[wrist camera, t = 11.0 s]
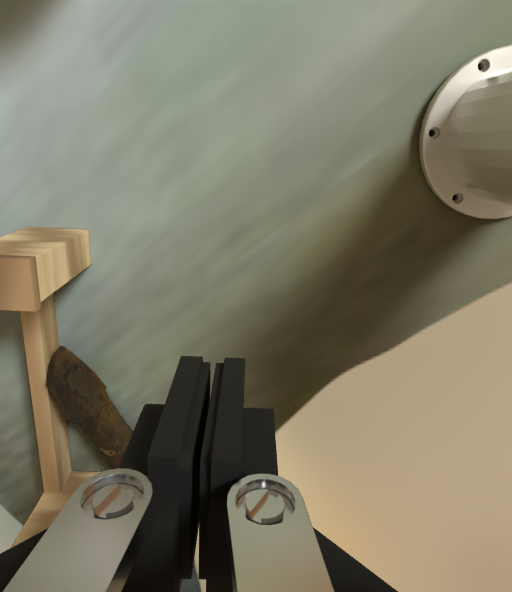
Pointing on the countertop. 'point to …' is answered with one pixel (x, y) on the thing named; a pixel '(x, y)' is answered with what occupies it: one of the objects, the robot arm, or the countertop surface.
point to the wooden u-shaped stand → (43, 349)
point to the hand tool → (88, 404)
